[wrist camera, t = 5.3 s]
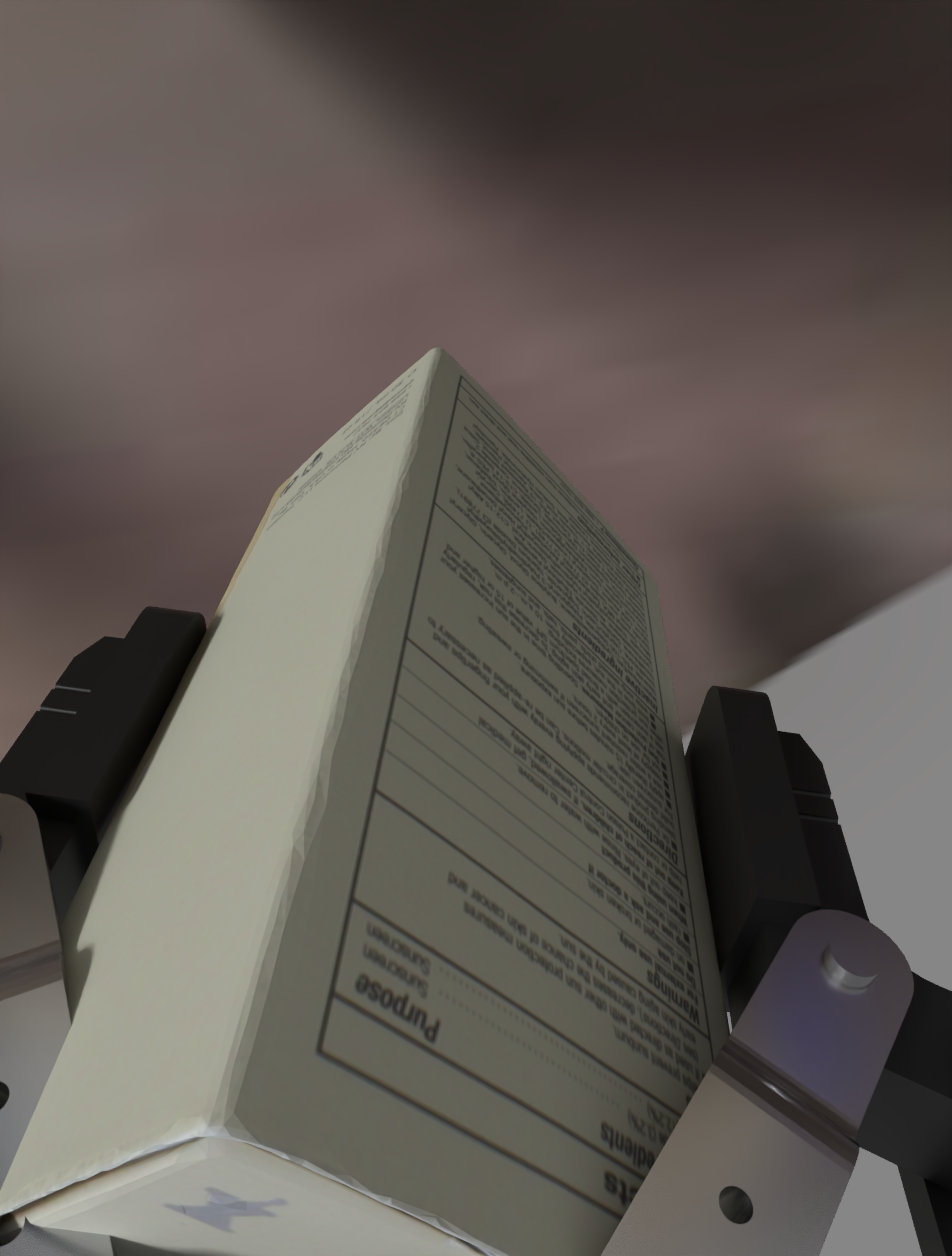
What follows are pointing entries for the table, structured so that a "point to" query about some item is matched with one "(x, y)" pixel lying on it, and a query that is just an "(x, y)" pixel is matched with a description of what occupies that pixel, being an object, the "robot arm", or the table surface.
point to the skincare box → (393, 882)
